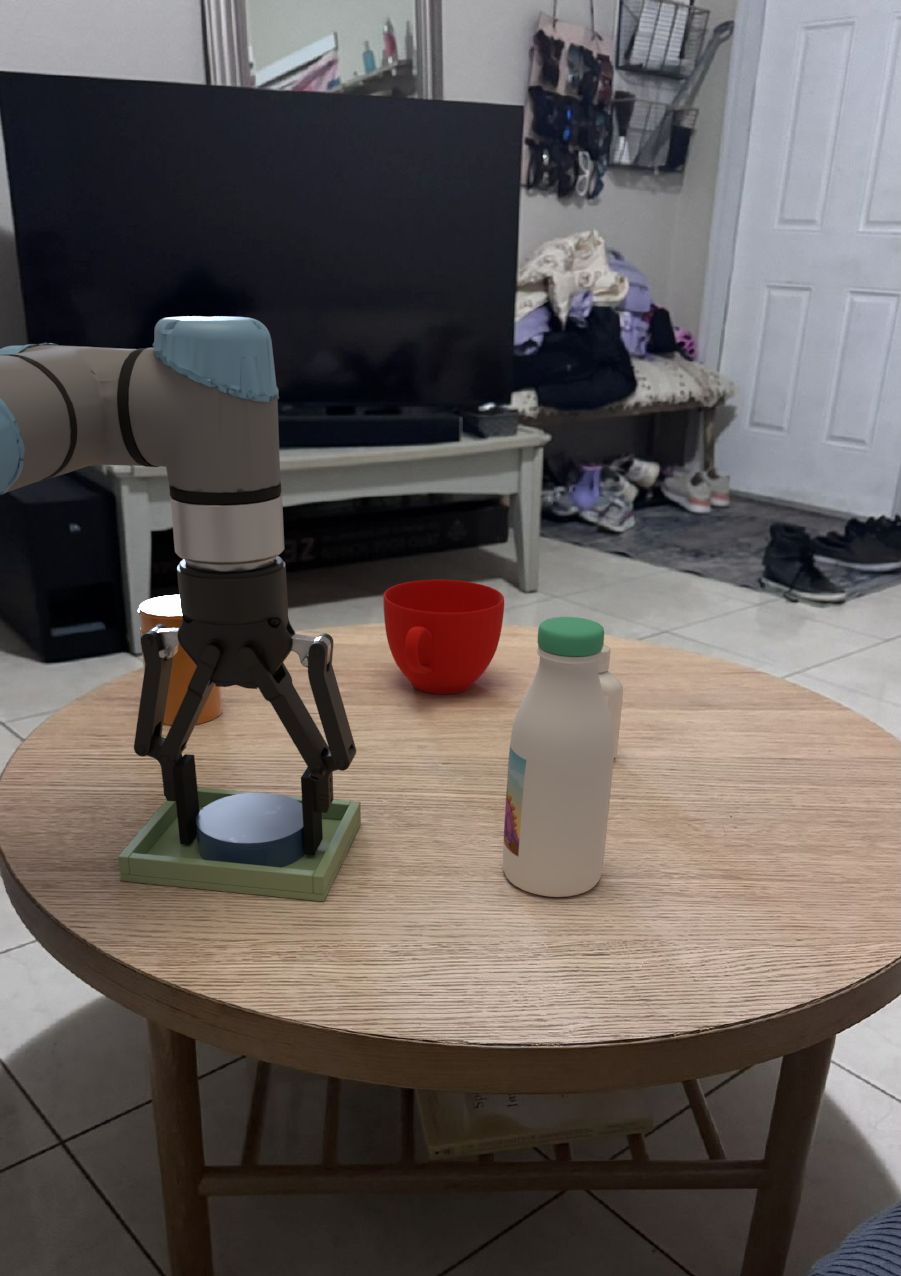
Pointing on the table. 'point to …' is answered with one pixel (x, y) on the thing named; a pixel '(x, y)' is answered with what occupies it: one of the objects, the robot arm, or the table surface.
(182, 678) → the jar
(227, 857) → the lid
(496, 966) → the table surface
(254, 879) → the tray
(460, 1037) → the table surface
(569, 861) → the milk bottle
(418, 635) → the ceramic cup
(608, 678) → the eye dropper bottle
